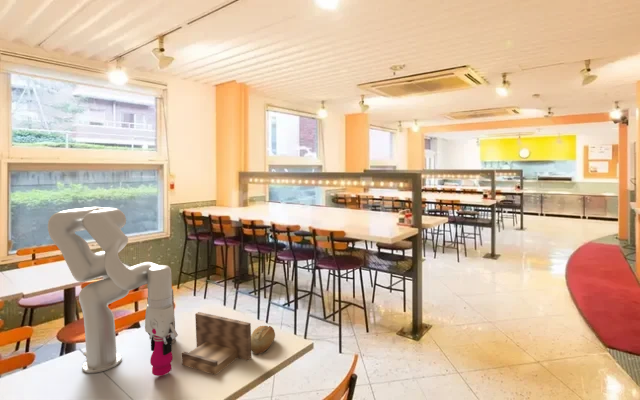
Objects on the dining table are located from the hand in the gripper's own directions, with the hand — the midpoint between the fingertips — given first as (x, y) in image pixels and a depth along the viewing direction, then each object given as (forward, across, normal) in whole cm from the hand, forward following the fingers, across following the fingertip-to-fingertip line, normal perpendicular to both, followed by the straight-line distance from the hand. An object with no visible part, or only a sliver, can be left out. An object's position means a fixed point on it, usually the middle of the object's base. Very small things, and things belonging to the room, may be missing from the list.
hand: (161, 350), depth 124 cm
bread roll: (+9, +21, +32) cm, 39 cm away
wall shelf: (+9, +9, +15) cm, 20 cm away
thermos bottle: (+10, -19, +18) cm, 28 cm away
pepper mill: (+8, 0, 0) cm, 8 cm away
